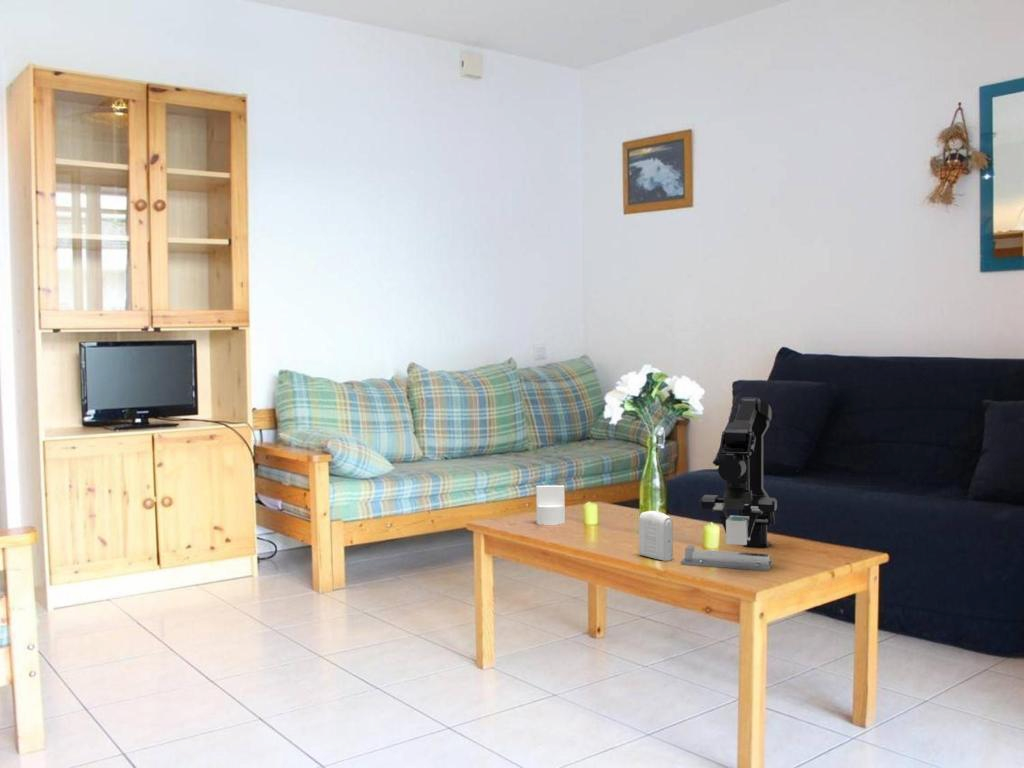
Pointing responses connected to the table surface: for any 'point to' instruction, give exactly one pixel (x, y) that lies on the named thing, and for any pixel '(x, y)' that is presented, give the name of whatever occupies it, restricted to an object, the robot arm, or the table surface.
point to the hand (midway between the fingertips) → (738, 536)
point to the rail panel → (729, 565)
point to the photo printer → (656, 535)
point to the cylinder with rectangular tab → (550, 504)
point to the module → (737, 530)
